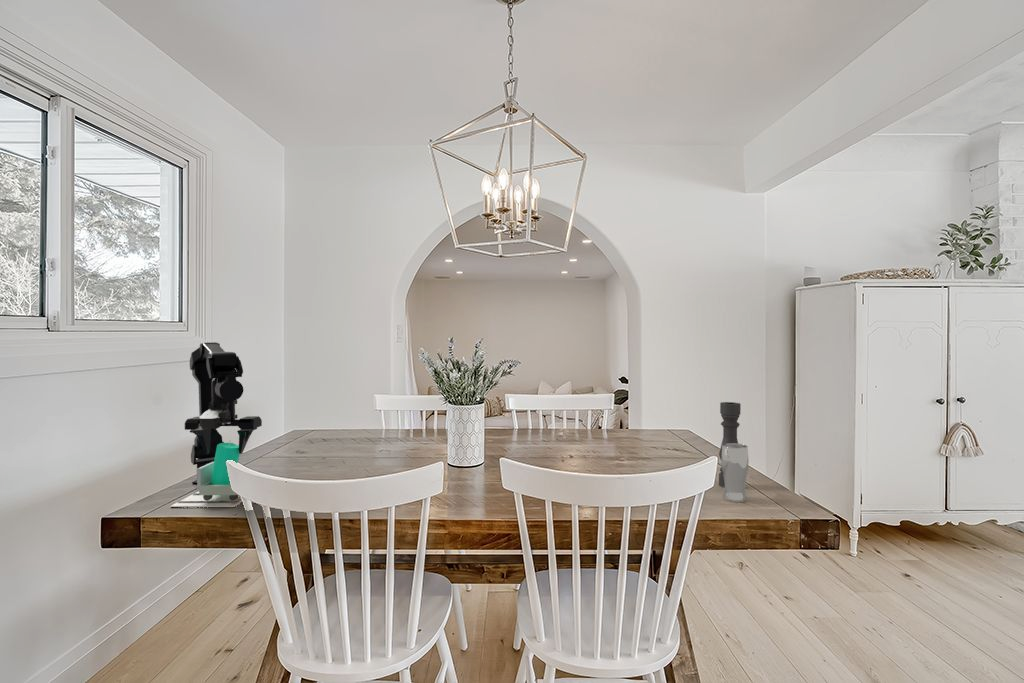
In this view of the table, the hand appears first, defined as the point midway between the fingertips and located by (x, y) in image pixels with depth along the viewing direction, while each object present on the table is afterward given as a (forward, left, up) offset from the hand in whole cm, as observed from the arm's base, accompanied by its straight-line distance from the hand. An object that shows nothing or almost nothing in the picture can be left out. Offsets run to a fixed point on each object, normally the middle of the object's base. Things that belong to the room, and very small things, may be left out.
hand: (224, 453), depth 151 cm
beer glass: (+1, +142, -13) cm, 143 cm away
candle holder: (-12, +146, -13) cm, 147 cm away
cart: (0, 0, -12) cm, 12 cm away
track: (0, -3, -13) cm, 13 cm away
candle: (0, -1, -8) cm, 8 cm away
